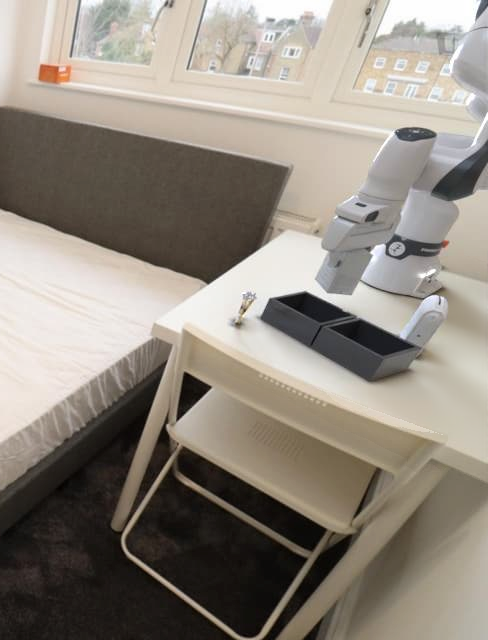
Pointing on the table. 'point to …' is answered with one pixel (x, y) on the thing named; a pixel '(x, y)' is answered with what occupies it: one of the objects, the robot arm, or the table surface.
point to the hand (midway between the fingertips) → (344, 264)
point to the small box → (344, 272)
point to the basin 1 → (303, 315)
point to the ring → (245, 305)
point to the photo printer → (426, 321)
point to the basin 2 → (365, 348)
